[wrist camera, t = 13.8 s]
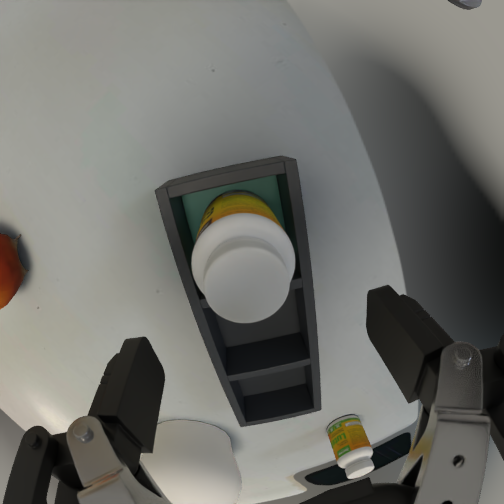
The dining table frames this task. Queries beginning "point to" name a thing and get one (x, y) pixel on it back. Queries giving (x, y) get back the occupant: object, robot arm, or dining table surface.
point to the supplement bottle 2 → (351, 446)
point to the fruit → (9, 269)
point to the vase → (194, 463)
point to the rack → (267, 330)
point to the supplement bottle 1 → (242, 258)
